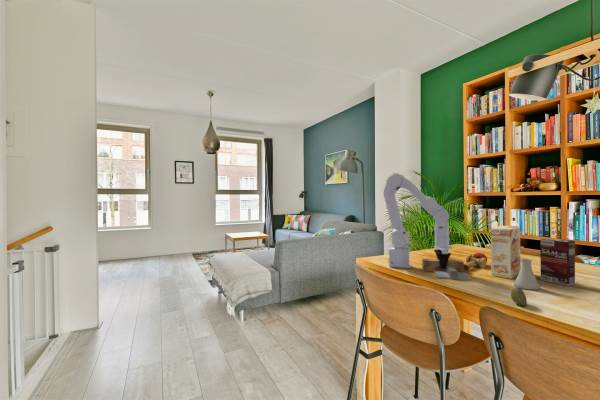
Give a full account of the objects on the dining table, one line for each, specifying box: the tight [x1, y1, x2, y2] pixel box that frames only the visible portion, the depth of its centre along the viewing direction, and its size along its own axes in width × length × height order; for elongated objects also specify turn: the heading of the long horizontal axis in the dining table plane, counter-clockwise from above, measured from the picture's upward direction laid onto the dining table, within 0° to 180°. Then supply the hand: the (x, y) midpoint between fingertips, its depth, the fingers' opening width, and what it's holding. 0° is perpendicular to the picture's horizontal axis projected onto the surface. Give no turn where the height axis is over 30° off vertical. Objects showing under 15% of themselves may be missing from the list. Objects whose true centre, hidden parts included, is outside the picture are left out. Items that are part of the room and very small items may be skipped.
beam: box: [421, 258, 465, 273], centre depth 122 cm, size 16×4×4 cm, turn 73°
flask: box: [513, 257, 541, 291], centre depth 98 cm, size 7×7×10 cm
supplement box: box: [539, 237, 576, 287], centre depth 102 cm, size 9×5×16 cm, turn 23°
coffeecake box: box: [490, 225, 521, 280], centre depth 115 cm, size 15×7×20 cm, turn 129°
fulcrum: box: [433, 266, 473, 281], centre depth 113 cm, size 12×9×3 cm
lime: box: [510, 287, 528, 307], centre depth 82 cm, size 4×5×5 cm
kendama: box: [464, 252, 488, 272], centre depth 126 cm, size 8×6×18 cm
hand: (442, 267), depth 122 cm, fingers closed on beam, 4 cm apart
